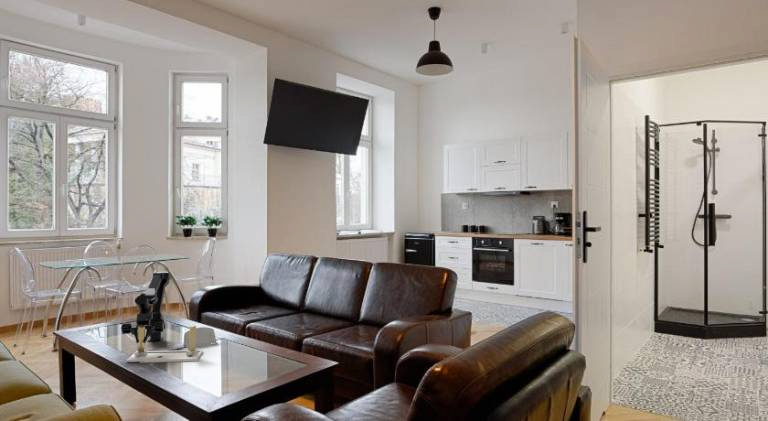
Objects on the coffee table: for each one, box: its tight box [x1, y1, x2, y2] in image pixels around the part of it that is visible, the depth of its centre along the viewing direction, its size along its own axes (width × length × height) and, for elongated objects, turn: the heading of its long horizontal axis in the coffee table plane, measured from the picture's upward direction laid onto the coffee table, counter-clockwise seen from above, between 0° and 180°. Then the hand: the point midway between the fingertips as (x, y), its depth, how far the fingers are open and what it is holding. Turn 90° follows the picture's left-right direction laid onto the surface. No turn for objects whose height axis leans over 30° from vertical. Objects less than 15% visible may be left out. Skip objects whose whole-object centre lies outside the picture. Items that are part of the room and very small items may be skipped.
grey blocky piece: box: [183, 326, 217, 349], centre depth 253 cm, size 17×5×10 cm, turn 127°
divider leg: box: [134, 326, 148, 357], centre depth 227 cm, size 7×4×14 cm
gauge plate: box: [126, 325, 204, 363], centre depth 230 cm, size 14×32×15 cm, turn 100°
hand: (140, 342), depth 227 cm, fingers closed on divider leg, 3 cm apart
